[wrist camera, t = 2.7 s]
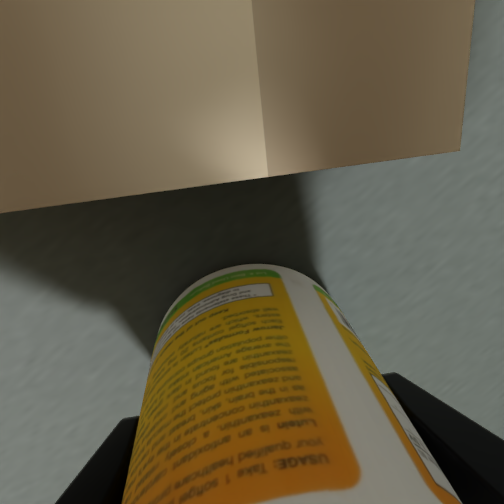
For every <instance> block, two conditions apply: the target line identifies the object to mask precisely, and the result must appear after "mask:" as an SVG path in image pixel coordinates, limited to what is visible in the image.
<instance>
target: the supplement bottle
mask: <svg viewBox="0 0 504 504" xmlns="http://www.w3.org/2000/svg"><path fill="white" fill-rule="evenodd" d="M122 504H462V502H461V501H460V499H459V497H458V496H457V494H456V493H455V491H454V489H453V488H452V486H451V485H450V483H449V481H448V480H447V478H446V477H445V475H444V473H443V472H442V470H441V469H440V467H439V466H438V464H437V463H436V461H435V459H434V458H433V456H432V455H431V453H430V452H429V450H428V448H427V447H426V445H425V444H424V442H423V440H422V439H421V437H420V436H419V434H418V433H417V431H416V429H415V428H414V426H413V425H412V423H411V421H410V420H409V418H408V417H407V415H406V414H405V412H404V410H403V409H402V407H401V405H400V404H399V402H398V401H397V399H396V398H395V396H394V394H393V393H392V391H391V390H390V388H389V386H388V385H387V383H386V382H385V380H384V378H383V377H382V375H381V374H380V372H379V370H378V369H377V367H376V366H375V364H374V362H373V361H372V359H371V358H370V356H369V354H368V353H367V351H366V350H365V348H364V346H363V345H362V343H361V341H360V340H359V338H358V337H357V335H356V334H355V332H354V331H353V329H352V327H351V326H350V324H349V322H348V321H347V319H346V318H345V316H344V315H343V313H342V312H341V310H340V309H339V307H338V306H337V305H336V303H335V302H334V301H333V299H332V298H331V297H330V296H329V294H328V293H327V292H326V291H325V290H324V289H323V288H322V287H321V286H320V285H318V284H317V283H316V282H315V281H313V280H312V279H310V278H309V277H307V276H305V275H304V274H301V273H299V272H297V271H295V270H292V269H289V268H286V267H282V266H276V265H269V264H246V265H239V266H234V267H229V268H225V269H222V270H219V271H217V272H214V273H212V274H209V275H207V276H205V277H203V278H202V279H200V280H198V281H197V282H195V283H194V284H192V285H191V286H190V287H188V288H187V289H186V290H185V291H184V292H183V293H182V294H181V295H180V296H179V297H178V298H177V299H176V300H175V302H174V303H173V304H172V306H171V307H170V308H169V310H168V312H167V313H166V315H165V317H164V319H163V321H162V323H161V325H160V328H159V331H158V335H157V338H156V341H155V345H154V349H153V354H152V358H151V363H150V369H149V373H148V378H147V384H146V389H145V393H144V398H143V403H142V408H141V412H140V417H139V422H138V427H137V432H136V437H135V442H134V447H133V451H132V456H131V461H130V465H129V471H128V476H127V480H126V485H125V490H124V494H123V499H122Z"/></svg>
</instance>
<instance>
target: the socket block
mask: <svg viewBox="0 0 504 504" xmlns="http://www.w3.org/2000/svg"><path fill="white" fill-rule="evenodd" d="M474 7H475V0H0V213H5V212H13V211H20V210H28V209H35V208H42V207H50V206H57V205H64V204H72V203H79V202H87V201H94V200H101V199H109V198H116V197H123V196H131V195H138V194H146V193H153V192H160V191H168V190H175V189H182V188H190V187H197V186H204V185H212V184H219V183H227V182H234V181H241V180H249V179H256V178H263V177H271V176H278V175H286V174H293V173H300V172H308V171H315V170H322V169H330V168H337V167H345V166H352V165H359V164H367V163H374V162H381V161H389V160H396V159H404V158H411V157H418V156H426V155H433V154H440V153H448V152H455V151H460V145H461V135H462V125H463V115H464V106H465V96H466V86H467V76H468V66H469V56H470V46H471V36H472V26H473V17H474Z"/></svg>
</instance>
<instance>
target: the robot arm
mask: <svg viewBox="0 0 504 504" xmlns="http://www.w3.org/2000/svg"><path fill="white" fill-rule="evenodd" d="M381 375H382V377H383V378H384V380H385V382H386V383H387V385H388V386H389V388H390V390H391V391H392V393H393V394H394V396H395V398H396V399H397V401H398V402H399V404H400V405H401V407H402V409H403V410H404V412H405V414H406V415H407V417H408V418H409V420H410V421H411V423H412V425H413V426H414V428H415V429H416V431H417V433H418V434H419V436H420V437H421V439H422V440H423V442H424V444H425V445H426V447H427V448H428V450H429V452H430V453H431V455H432V456H433V458H434V459H435V461H436V463H437V464H438V466H439V467H440V469H441V470H442V472H443V473H444V475H445V477H446V478H447V480H448V481H449V483H450V485H451V486H452V488H453V489H454V491H455V493H456V494H457V496H458V497H459V499H460V501H461V502H462V504H504V440H503V439H501V438H500V437H498V436H496V435H495V434H493V433H492V432H490V431H488V430H487V429H485V428H484V427H482V426H480V425H479V424H477V423H476V422H474V421H473V420H471V419H469V418H468V417H466V416H465V415H463V414H461V413H460V412H458V411H457V410H455V409H453V408H452V407H450V406H449V405H447V404H446V403H444V402H442V401H441V400H439V399H438V398H436V397H434V396H433V395H431V394H430V393H428V392H427V391H425V390H423V389H422V388H420V387H419V386H417V385H415V384H414V383H412V382H411V381H409V380H407V379H406V378H404V377H403V376H401V375H400V374H398V373H395V372H392V373H386V374H381ZM139 417H140V416H134V417H128V418H124V419H122V420H121V421H120V422H119V423H118V424H117V426H116V427H115V428H114V429H113V431H112V432H111V433H110V435H109V436H108V437H107V438H106V440H105V441H104V442H103V443H102V445H101V446H100V447H99V448H98V450H97V451H96V452H95V453H94V455H93V456H92V457H91V459H90V460H89V461H88V462H87V464H86V465H85V466H84V467H83V469H82V470H81V471H80V472H79V474H78V475H77V476H76V477H75V479H74V480H73V481H72V483H71V484H70V485H69V486H68V488H67V489H66V490H65V491H64V493H63V494H62V495H61V496H60V498H59V499H58V500H57V501H56V503H55V504H122V499H123V494H124V490H125V485H126V480H127V476H128V471H129V465H130V461H131V456H132V451H133V447H134V442H135V437H136V432H137V427H138V422H139Z"/></svg>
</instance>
